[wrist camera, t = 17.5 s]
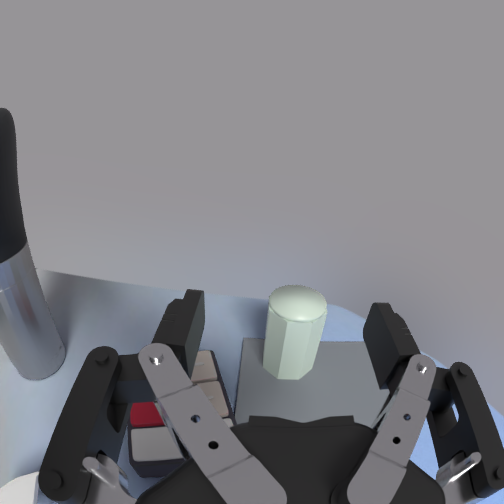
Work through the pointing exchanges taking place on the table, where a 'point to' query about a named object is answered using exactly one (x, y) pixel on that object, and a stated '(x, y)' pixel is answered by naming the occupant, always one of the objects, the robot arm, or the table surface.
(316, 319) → the pale green faceted cylinder
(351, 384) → the mat
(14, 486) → the white toy table
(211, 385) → the calculator
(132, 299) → the table surface
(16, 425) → the table surface
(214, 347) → the table surface
